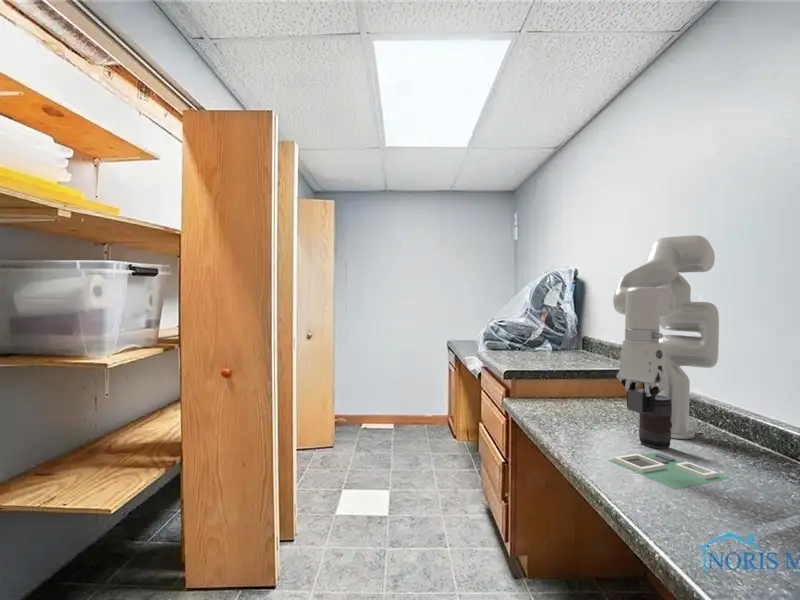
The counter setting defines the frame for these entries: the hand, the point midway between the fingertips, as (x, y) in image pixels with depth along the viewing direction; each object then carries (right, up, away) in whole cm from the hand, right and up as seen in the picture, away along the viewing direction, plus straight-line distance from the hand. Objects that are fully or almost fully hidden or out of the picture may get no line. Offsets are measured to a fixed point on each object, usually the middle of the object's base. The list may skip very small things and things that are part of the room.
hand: (640, 408), depth 108 cm
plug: (0, 0, 0) cm, 0 cm away
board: (+5, -15, -2) cm, 16 cm away
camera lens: (+13, -16, +16) cm, 26 cm away
